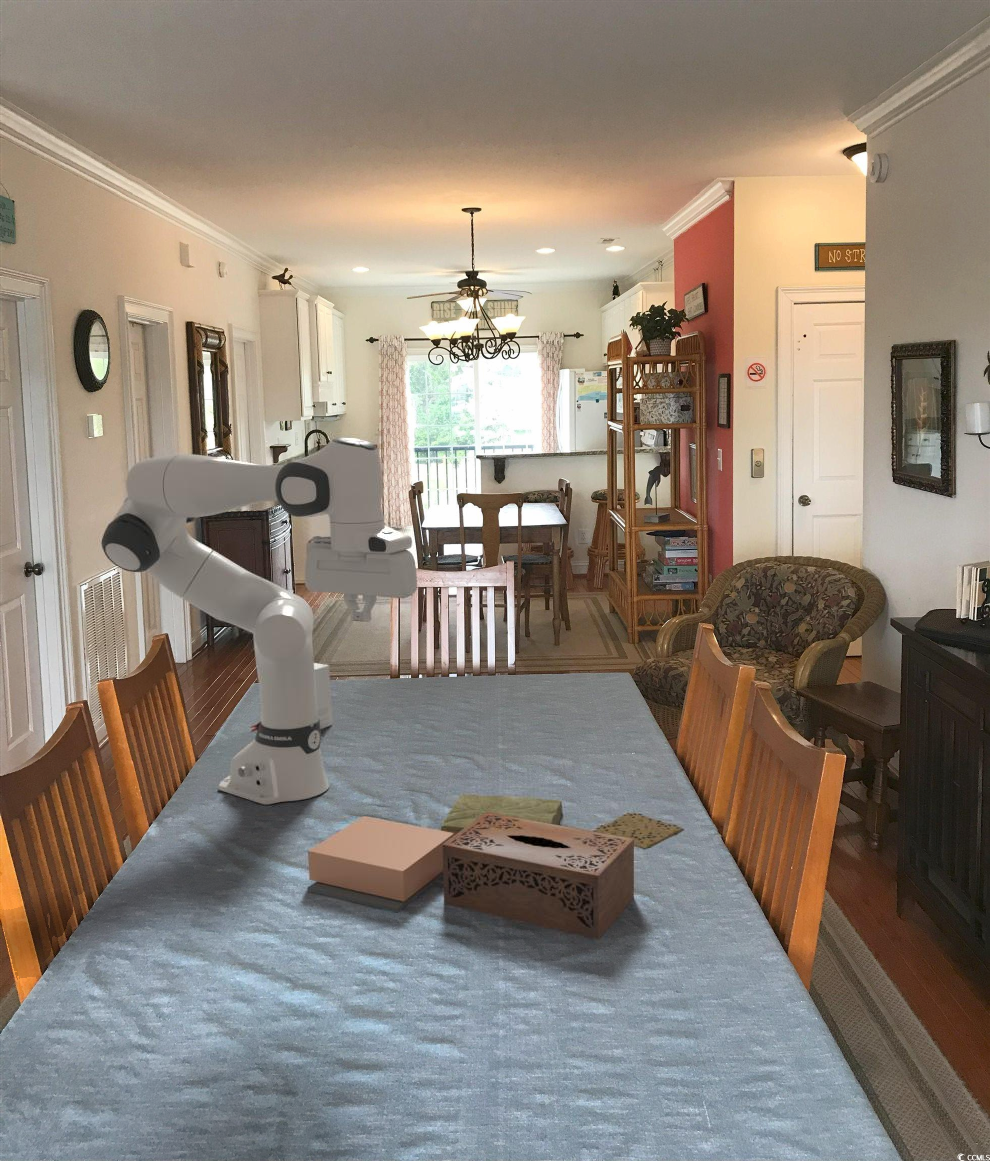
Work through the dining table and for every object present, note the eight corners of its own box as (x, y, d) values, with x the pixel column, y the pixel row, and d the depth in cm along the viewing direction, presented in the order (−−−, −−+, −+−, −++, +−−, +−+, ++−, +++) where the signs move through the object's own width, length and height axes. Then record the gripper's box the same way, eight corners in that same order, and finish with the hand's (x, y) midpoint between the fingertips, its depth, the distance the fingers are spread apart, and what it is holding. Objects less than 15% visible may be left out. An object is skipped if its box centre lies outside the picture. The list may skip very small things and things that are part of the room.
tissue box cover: (444, 905, 169) (442, 844, 167) (487, 868, 181) (486, 812, 180) (598, 941, 157) (598, 876, 155) (633, 899, 169) (633, 838, 168)
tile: (307, 850, 175) (403, 871, 167) (363, 816, 189) (454, 833, 181) (309, 881, 176) (404, 903, 168) (365, 844, 190) (454, 862, 182)
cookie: (590, 833, 195) (590, 828, 195) (632, 814, 204) (632, 809, 204) (644, 852, 187) (644, 846, 187) (685, 831, 195) (685, 826, 195)
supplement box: (306, 719, 266) (303, 660, 264) (333, 725, 261) (330, 664, 259) (279, 729, 259) (276, 667, 257) (306, 735, 254) (303, 673, 251)
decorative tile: (459, 807, 209) (459, 790, 208) (563, 813, 205) (563, 796, 204) (434, 847, 191) (434, 828, 190) (547, 855, 187) (547, 835, 186)
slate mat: (307, 891, 174) (307, 887, 174) (376, 844, 191) (376, 841, 191) (397, 912, 166) (397, 908, 166) (461, 861, 184) (461, 858, 183)
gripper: (294, 537, 180) (298, 619, 182) (399, 543, 170) (402, 629, 173) (317, 533, 185) (321, 612, 188) (420, 538, 176) (423, 621, 178)
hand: (361, 620), depth 180 cm, fingers closed
